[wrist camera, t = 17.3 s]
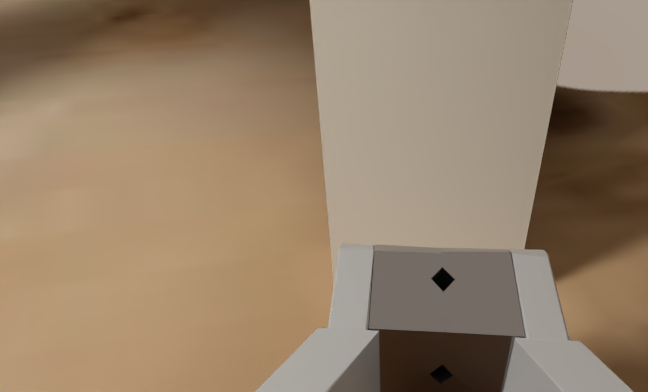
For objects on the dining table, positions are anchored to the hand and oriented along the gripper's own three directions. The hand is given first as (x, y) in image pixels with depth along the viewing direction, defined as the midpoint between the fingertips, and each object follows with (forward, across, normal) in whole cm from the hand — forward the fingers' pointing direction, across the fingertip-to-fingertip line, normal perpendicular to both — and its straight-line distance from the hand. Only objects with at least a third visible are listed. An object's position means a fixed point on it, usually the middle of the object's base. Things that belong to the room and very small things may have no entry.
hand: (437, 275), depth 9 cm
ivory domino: (+6, 0, +6) cm, 8 cm away
